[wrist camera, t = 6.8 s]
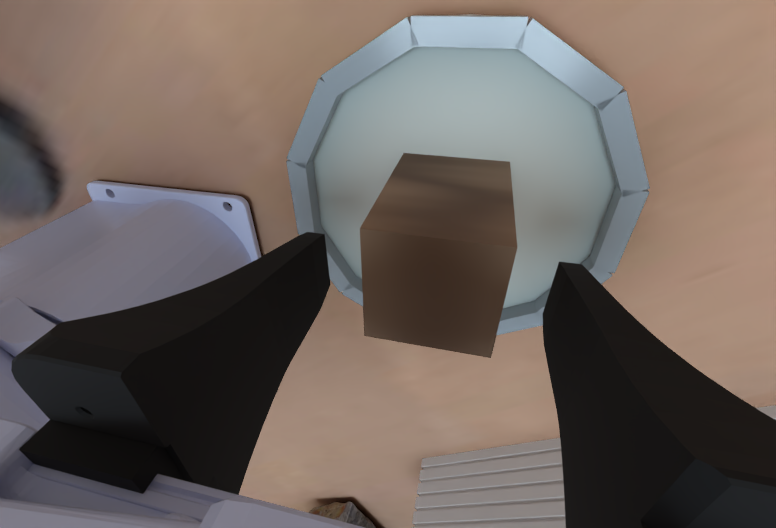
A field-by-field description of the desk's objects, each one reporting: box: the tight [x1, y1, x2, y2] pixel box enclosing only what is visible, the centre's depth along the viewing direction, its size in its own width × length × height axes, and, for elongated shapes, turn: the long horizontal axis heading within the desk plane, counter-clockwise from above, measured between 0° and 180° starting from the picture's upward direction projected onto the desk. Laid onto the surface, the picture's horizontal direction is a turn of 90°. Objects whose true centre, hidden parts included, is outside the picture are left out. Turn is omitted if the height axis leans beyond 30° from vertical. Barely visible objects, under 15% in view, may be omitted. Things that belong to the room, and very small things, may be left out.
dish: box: [286, 14, 650, 335], centre depth 16 cm, size 13×13×2 cm
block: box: [360, 153, 517, 358], centre depth 13 cm, size 4×4×6 cm
